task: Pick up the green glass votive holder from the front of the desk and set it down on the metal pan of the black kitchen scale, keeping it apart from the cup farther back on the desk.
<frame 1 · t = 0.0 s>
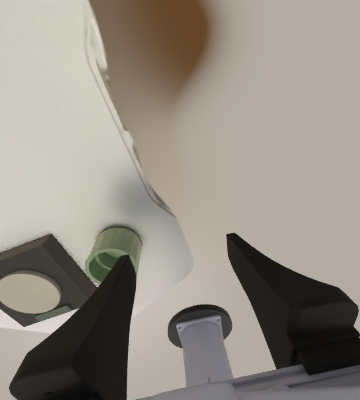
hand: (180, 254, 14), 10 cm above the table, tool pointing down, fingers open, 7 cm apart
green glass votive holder: (119, 243, 25), on the table
scale: (41, 277, 26), on the table
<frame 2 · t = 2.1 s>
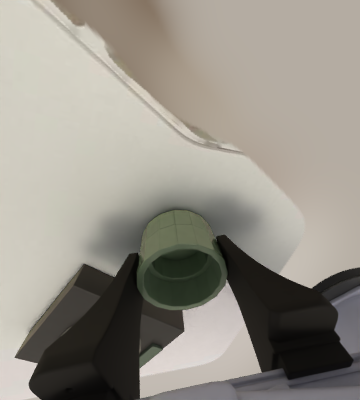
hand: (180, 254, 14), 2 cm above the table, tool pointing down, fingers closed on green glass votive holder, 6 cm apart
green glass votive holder: (177, 236, 16), on the table, touching gripper
scale: (107, 320, 19), on the table
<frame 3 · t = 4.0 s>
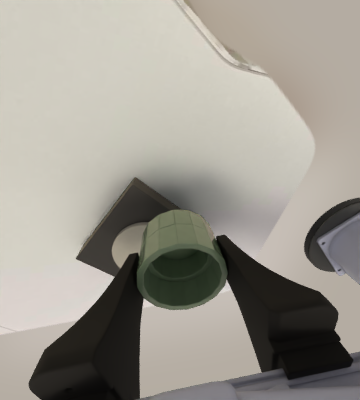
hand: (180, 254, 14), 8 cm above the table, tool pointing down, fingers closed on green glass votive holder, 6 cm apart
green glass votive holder: (177, 236, 16), point 6 cm above the table, touching gripper
scale: (147, 237, 23), on the table
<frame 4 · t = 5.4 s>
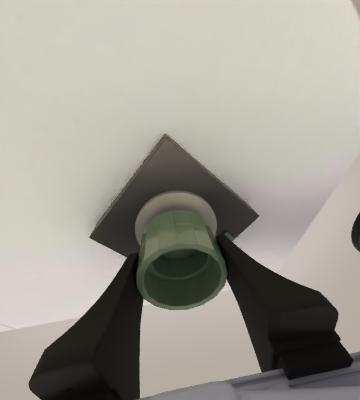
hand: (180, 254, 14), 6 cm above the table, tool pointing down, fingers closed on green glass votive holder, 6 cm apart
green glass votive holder: (176, 236, 15), point 4 cm above the table, touching gripper
scale: (174, 214, 19), on the table
when the fingers open (5 cm above the table, at t = 6.2 s): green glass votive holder stays where it is, resting on scale.
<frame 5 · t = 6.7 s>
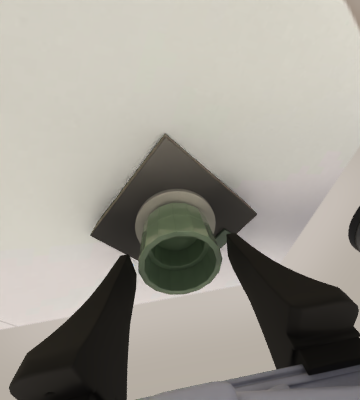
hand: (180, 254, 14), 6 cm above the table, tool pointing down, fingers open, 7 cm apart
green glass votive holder: (175, 228, 17), point 3 cm above the table, touching scale
scale: (174, 213, 19), on the table
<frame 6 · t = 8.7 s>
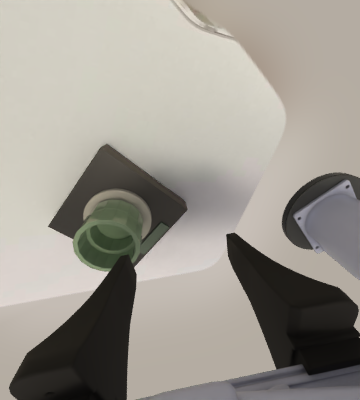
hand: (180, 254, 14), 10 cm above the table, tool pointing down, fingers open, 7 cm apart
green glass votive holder: (117, 220, 20), point 3 cm above the table, touching scale
scale: (122, 208, 23), on the table
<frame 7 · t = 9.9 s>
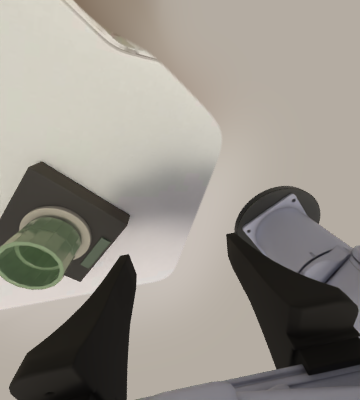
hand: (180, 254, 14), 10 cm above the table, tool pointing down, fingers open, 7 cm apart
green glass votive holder: (55, 236, 21), point 3 cm above the table, touching scale
scale: (67, 223, 23), on the table
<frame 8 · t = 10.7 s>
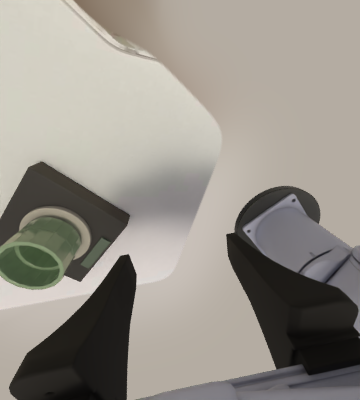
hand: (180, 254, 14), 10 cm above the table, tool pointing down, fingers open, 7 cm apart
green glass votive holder: (55, 236, 21), point 3 cm above the table, touching scale
scale: (67, 223, 23), on the table
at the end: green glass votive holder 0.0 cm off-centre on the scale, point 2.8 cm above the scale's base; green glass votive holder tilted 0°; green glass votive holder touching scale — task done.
